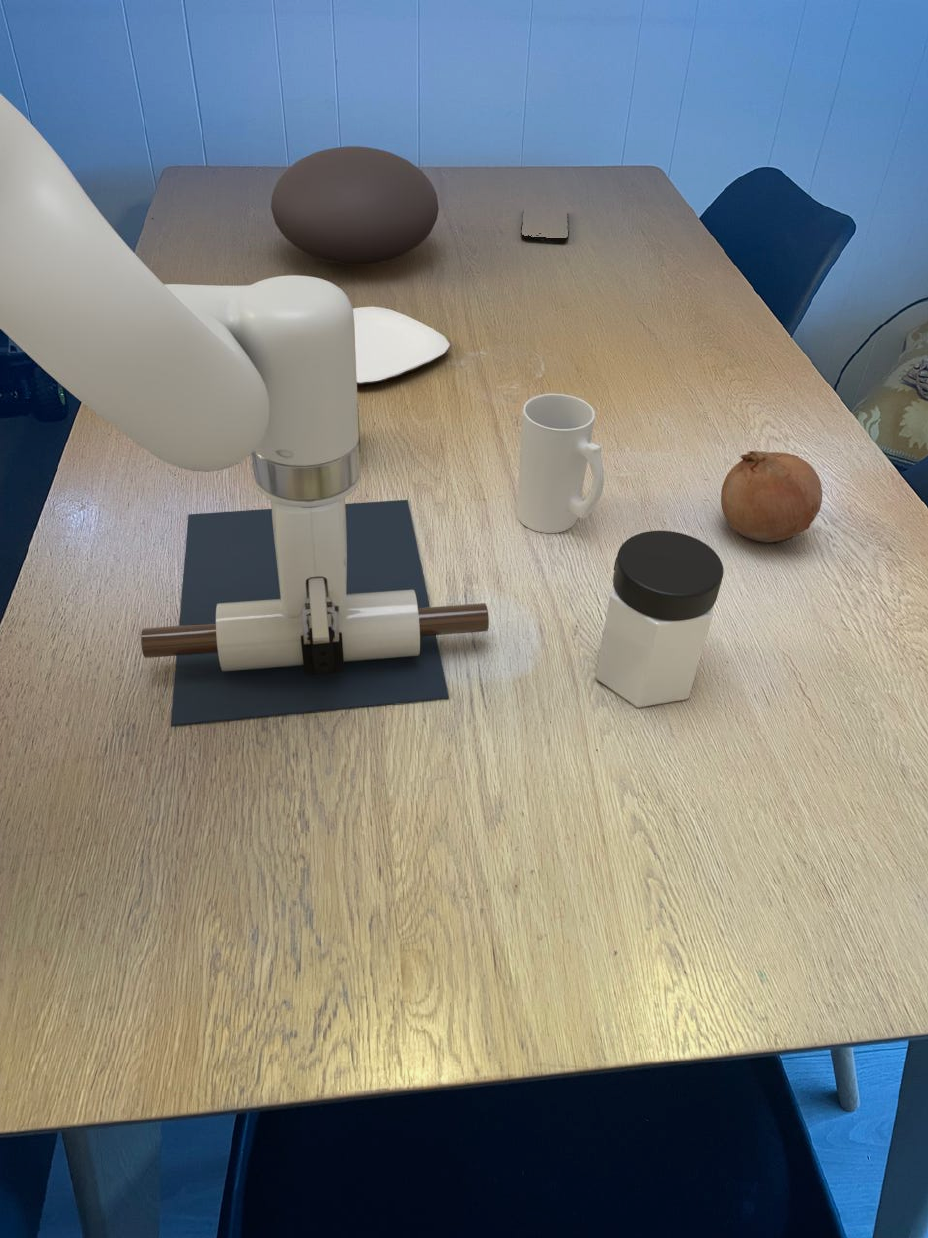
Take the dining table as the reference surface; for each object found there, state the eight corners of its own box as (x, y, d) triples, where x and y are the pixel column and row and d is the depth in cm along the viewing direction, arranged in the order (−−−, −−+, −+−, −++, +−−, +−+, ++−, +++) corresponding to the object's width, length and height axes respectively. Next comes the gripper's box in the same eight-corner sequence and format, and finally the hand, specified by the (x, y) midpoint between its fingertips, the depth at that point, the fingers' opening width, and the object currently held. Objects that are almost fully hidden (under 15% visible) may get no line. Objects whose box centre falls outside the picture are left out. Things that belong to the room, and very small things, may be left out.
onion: (715, 551, 97) (689, 469, 92) (779, 503, 99) (757, 420, 94) (785, 574, 89) (760, 486, 84) (852, 522, 91) (832, 432, 86)
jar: (673, 631, 83) (701, 522, 75) (713, 697, 77) (748, 586, 69) (578, 646, 81) (596, 536, 73) (612, 714, 75) (635, 603, 67)
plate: (466, 356, 121) (466, 343, 120) (358, 402, 111) (357, 389, 110) (374, 310, 130) (374, 298, 129) (268, 349, 120) (266, 336, 119)
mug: (500, 510, 96) (508, 405, 88) (549, 489, 99) (561, 386, 91) (565, 560, 90) (580, 454, 82) (615, 536, 93) (635, 431, 85)
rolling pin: (478, 617, 83) (482, 570, 79) (489, 663, 79) (494, 616, 75) (153, 642, 79) (140, 594, 75) (147, 692, 75) (133, 643, 71)
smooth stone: (250, 242, 146) (237, 139, 136) (388, 217, 157) (387, 119, 147) (320, 301, 131) (312, 190, 121) (468, 268, 142) (472, 163, 132)
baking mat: (449, 699, 76) (449, 697, 76) (171, 726, 73) (170, 724, 73) (407, 501, 96) (407, 499, 96) (188, 515, 93) (188, 514, 93)
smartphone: (569, 206, 161) (569, 238, 150) (568, 212, 161) (568, 244, 150) (523, 203, 161) (520, 234, 150) (523, 209, 162) (519, 240, 151)
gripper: (253, 402, 72) (275, 582, 84) (251, 536, 59) (278, 725, 71) (351, 397, 73) (359, 576, 85) (370, 529, 60) (376, 716, 72)
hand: (322, 642), depth 78 cm, fingers closed on rolling pin, 5 cm apart
